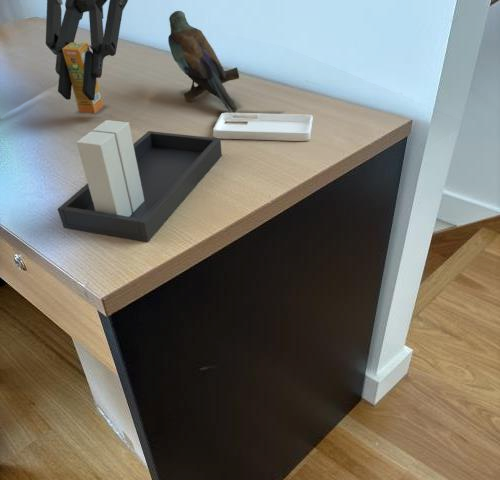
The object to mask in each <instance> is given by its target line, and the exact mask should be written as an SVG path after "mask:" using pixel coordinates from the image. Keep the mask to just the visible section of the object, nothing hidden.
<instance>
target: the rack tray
mask: <svg viewBox="0 0 500 480" xmlns="http://www.w3.org/2000/svg"><path fill="white" fill-rule="evenodd" d="M133 146H134V151H135V156H136V161H137V166H138V171H139V176H140V181H141V186H142V191H143V196H144V202H143V203H142V204H141V205H140V206H139V207H138V208H137V209H136V210H135V211H134V212H132V214H131V216H130V217H128V216H122V215H116V214H109V213H103V212H97V211H95V207H94V204H93V200H92V197H91V193H90V189H89V186H88V182H87V183H86V184H84V186H82V187H81V188H80V189H79V190H78V191H76V192H75V193H74V194H73V195H72V196H71V197H70V198H68V199H67V200H66V201H65V202H64V203H62V204H61V205H60V206H59V207H58V208H57V211H58V215H59V218H60V220H61V223H62V227H63V228H65V229H70V230H76V231H82V232H88V233H93V234H99V235H105V236H110V237H116V238H121V239H128V240H135V241H140V242H145V243H149V242H150V241H151V239H153V237H154V236H155V235H156V234H157V232H158V231H159V230H160V229H161V228H162V226H164V224H165V223H166V222H167V221H168V220H169V218H170V217H172V215H173V214H174V213H175V211H176V210H177V209H178V208H179V206H180V205H182V203H183V202H184V201H185V200H186V198H187V197H189V195H190V194H191V192H193V190H194V189H195V188H196V187H197V185H198V184H199V183H200V182H201V181H202V180H203V179H204V177H205V176H206V175H207V173H209V172H210V170H211V169H212V168H214V166H215V164H216V163H217V162H218V161H219V160H220V159H221V158H222V156H223V154H222V141H221V138H214V137H208V136H198V135H190V134H181V133H171V132H162V131H153V130H148V131H147V132H146V133H144V134H143V135H142V136H141V137H139V139H137V140H136V141H135V142H133Z"/></svg>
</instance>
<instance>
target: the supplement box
mask: <svg viewBox="0 0 500 480" xmlns="http://www.w3.org/2000/svg"><path fill="white" fill-rule="evenodd" d="M62 50H63V53H64V57H65V61H66V65H67V68H68V72H69V76H70V79H71V83H72V91H73V94H74V99H75V101H76V106H77V109H78V112H79V113H82V114H97V113H98V112H99V111H100V110H101V109H102V108H103V107H104V103H103V99H102V96H101V91H100V87H99V84H98V78H96V88H95V98H94V100H89V99H88V98H87V97H86V95H85V94H84V93H83V92H82V90H83V79H84V69H85V59H86V51H91V50H90V46H89V44H88V42H75V41H74V42H71V43H70V44H68V45H66V46H65V47H64V48H62Z"/></svg>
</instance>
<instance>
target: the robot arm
mask: <svg viewBox="0 0 500 480" xmlns="http://www.w3.org/2000/svg"><path fill="white" fill-rule="evenodd" d="M107 2H108V0H65V3H64V2H63V0H46V20H45V21H46V22H45V45H46V46H47V48H48V49H49V50H50V51H51V53H53V54H54V55H55V56H56V59H55V73H56V74H57V75H58V83H57V84H58V85H57V92H58V93H59V95H61V96H62V97H63V99H64V100H66V101H67V100H68V101H70V100H71V99H72V90H73V87H72V83H71V79H70V76H69V72H68V68H67V65H66V61H65V57H64V53H63V50H62V48H64V47H65V46H66V45H68V44H70V43H71V42H74V43H75V39H76V35H77V32H78V29H79V28H78V27H79V24H80V21H81V20H82V19H83V16H84V13H87V12H88V18H89V19H88V20H89V33H90V45H89V44H88V45H89V49H91V50H92V51H91V50H90V51H86V59H85V69H84V79H83V90H82V92H83V93H84V94H85V95H86V97H87V98H88V99H89V100H94V98H95V88H96V79H101V78H102V75H103V66H104V59H105V58H106V57H108V56H111V57H113V56H115V55H116V54H117V49H118V42H119V36H120V30H121V24H122V18H123V11H124V9H125V7H126V6H127V4H128V2H129V0H109V3H108V7H107V14H106V20H105V27H104V24H103V23H104V21H103V19H104V5H105V4H106V3H107ZM63 4H64V6H65V9H64V14H63V13H62V5H63ZM62 14H63V18H62Z"/></svg>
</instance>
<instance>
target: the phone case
mask: <svg viewBox="0 0 500 480" xmlns="http://www.w3.org/2000/svg"><path fill="white" fill-rule="evenodd" d="M242 117H244V118H242ZM245 117H246V118H245ZM247 117H257V118H247ZM313 122H314V116H313V115H311V114H297V113H262V112H261V113H260V112H259V113H258V112H257V113H256V112H255V113H254V112H235V113H231V112H222V113H221V114H220V115H219V117H218V119H217V121H216V123H215V124H214V127H213V128H212V132H213V138H218V139H224V140H225V139H227V140H255V141H256V140H258V141H260V140H261V141H285V142H286V141H289V142H308V141H310V139H311V133H312V129H313ZM233 123H235V124H233ZM236 123H237V124H236ZM239 123H246V124H239Z"/></svg>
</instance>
